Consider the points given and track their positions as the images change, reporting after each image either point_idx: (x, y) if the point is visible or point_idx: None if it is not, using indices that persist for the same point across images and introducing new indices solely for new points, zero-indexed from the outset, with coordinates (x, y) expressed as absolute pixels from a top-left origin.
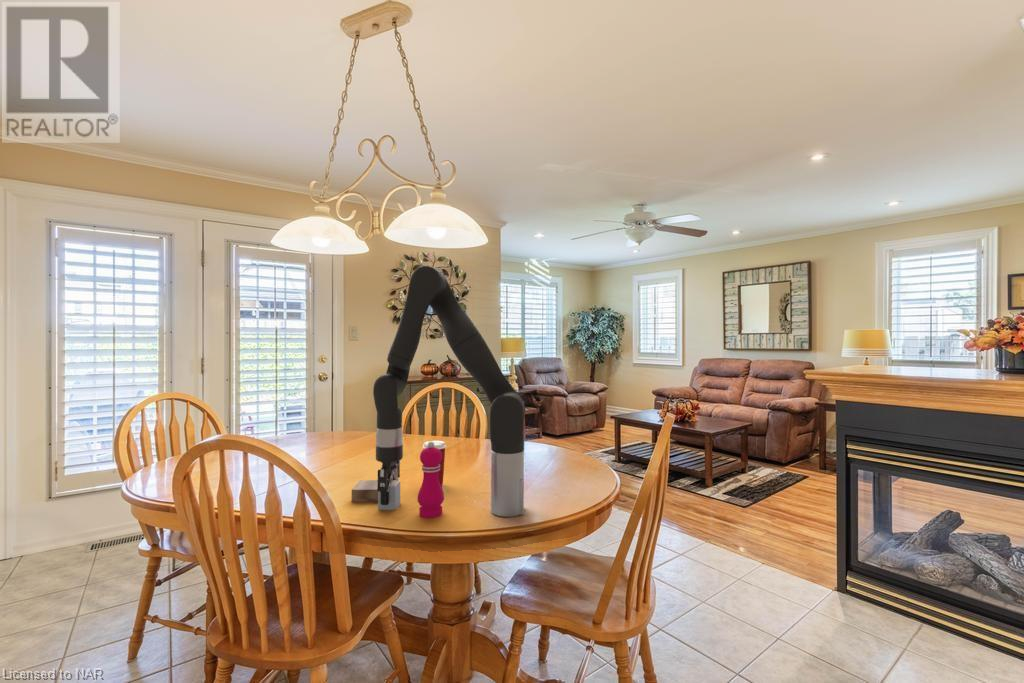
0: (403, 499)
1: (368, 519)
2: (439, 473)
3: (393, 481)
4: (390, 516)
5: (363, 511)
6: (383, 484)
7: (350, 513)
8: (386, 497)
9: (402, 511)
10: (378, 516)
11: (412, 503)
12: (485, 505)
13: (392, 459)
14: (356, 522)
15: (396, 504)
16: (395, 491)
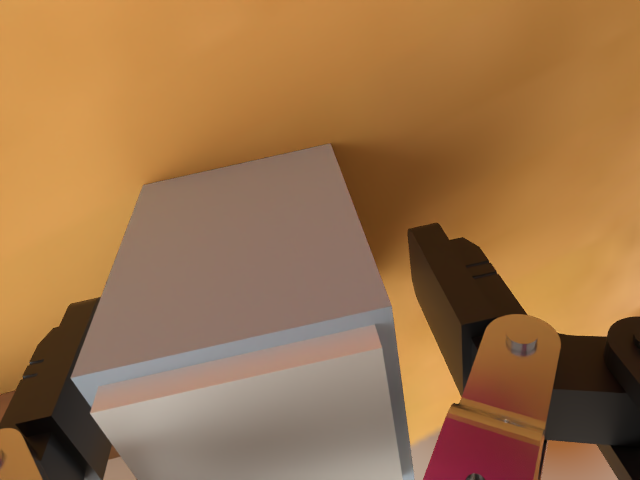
0: (4, 216)
1: (576, 247)
2: None
3: (192, 448)
4: (510, 106)
5: (412, 355)
6: (379, 477)
7: (459, 399)
8: (490, 280)
9: (356, 48)
10: (512, 209)
11: (64, 52)
12: None
13: None
14: (629, 290)
15: (303, 171)
16: (373, 262)
